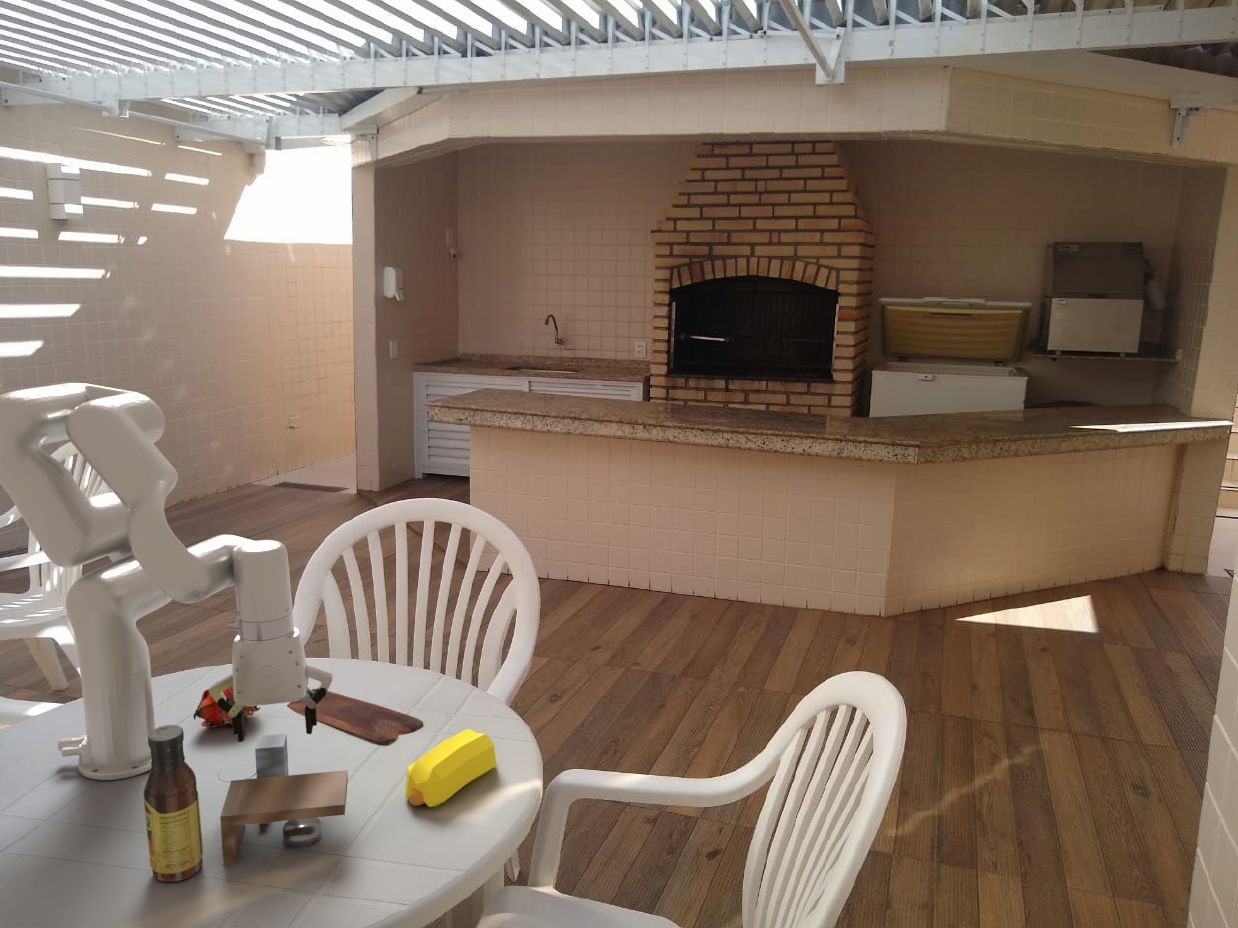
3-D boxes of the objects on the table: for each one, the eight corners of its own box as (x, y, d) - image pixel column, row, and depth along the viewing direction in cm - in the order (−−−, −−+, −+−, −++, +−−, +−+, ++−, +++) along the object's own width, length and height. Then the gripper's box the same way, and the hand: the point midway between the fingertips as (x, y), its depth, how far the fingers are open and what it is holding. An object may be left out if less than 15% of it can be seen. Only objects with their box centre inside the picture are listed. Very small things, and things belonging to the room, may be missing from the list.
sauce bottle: (162, 856, 128) (150, 717, 124) (210, 855, 129) (201, 717, 124) (142, 887, 122) (129, 742, 118) (193, 886, 122) (183, 741, 118)
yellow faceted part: (508, 765, 153) (470, 752, 157) (508, 727, 152) (469, 714, 156) (431, 819, 138) (391, 803, 142) (431, 777, 137) (390, 762, 141)
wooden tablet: (276, 701, 171) (320, 675, 179) (278, 712, 172) (321, 686, 180) (384, 743, 158) (426, 713, 166) (386, 755, 158) (428, 725, 166)
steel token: (281, 851, 130) (280, 838, 130) (285, 830, 135) (284, 817, 134) (320, 847, 131) (319, 834, 131) (322, 826, 136) (322, 813, 136)
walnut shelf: (223, 864, 127) (220, 816, 125) (234, 826, 135) (231, 780, 134) (346, 851, 130) (344, 804, 129) (349, 814, 139) (347, 770, 137)
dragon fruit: (269, 720, 169) (203, 753, 161) (246, 683, 172) (179, 713, 164) (276, 695, 164) (207, 728, 156) (251, 657, 167) (182, 687, 159)
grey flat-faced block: (249, 825, 135) (246, 780, 134) (261, 777, 148) (258, 735, 146) (279, 822, 136) (276, 777, 135) (288, 775, 149) (286, 733, 147)
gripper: (198, 640, 135) (210, 752, 139) (326, 628, 139) (335, 738, 143) (207, 622, 143) (219, 729, 146) (329, 611, 146) (337, 716, 150)
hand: (276, 733), depth 144 cm, fingers open, 9 cm apart
